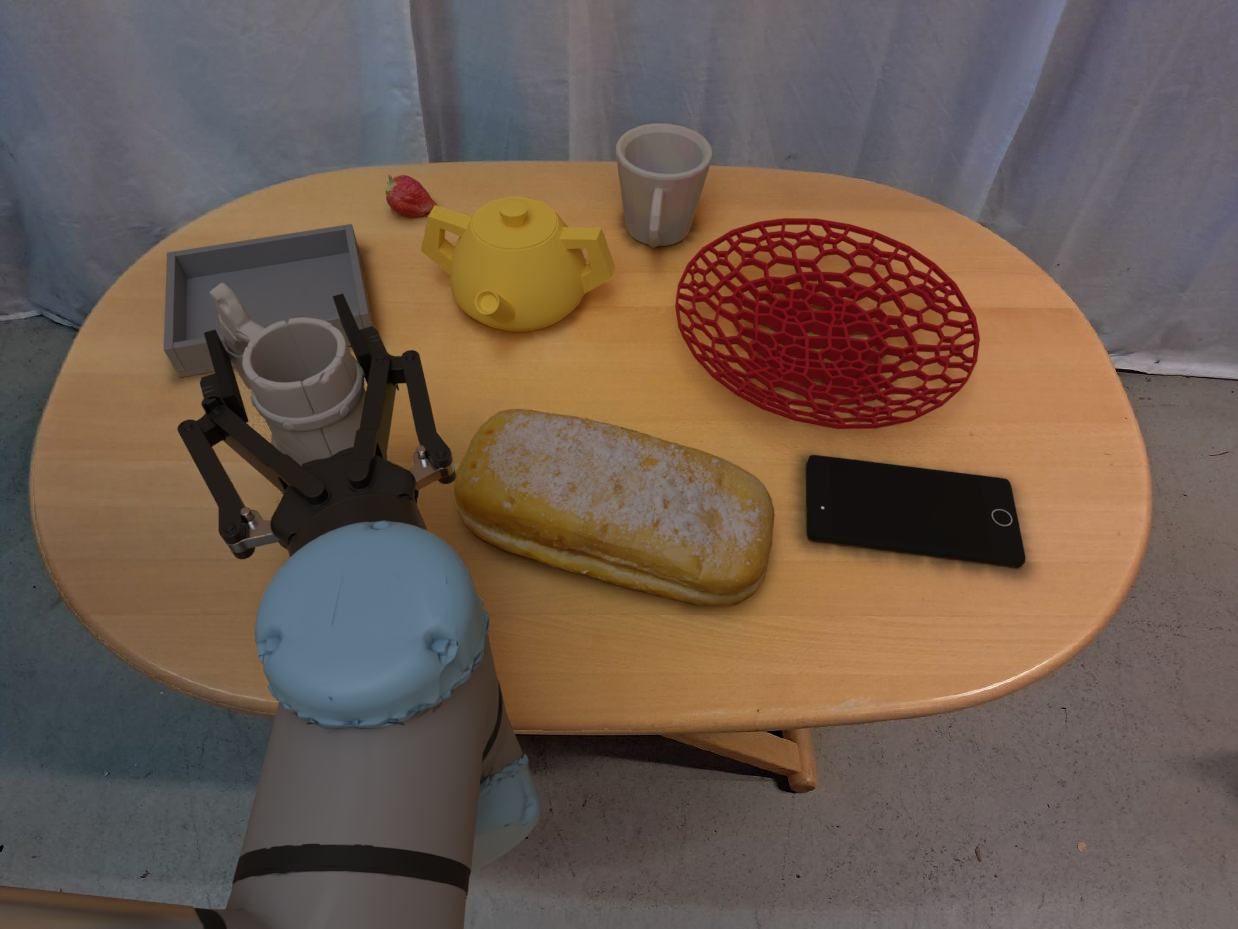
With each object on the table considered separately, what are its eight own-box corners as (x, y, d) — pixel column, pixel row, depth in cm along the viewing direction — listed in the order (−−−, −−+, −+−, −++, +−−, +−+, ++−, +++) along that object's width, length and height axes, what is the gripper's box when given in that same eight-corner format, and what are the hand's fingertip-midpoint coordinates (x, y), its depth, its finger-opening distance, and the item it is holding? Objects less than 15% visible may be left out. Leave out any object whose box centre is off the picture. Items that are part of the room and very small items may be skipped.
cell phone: (1022, 569, 67) (1027, 564, 66) (806, 541, 68) (808, 535, 67) (1006, 484, 72) (1010, 478, 71) (805, 459, 73) (808, 453, 72)
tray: (180, 378, 77) (163, 349, 74) (181, 281, 85) (166, 252, 82) (376, 341, 81) (368, 313, 78) (359, 252, 89) (351, 223, 86)
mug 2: (704, 204, 96) (715, 126, 88) (697, 285, 87) (708, 207, 79) (618, 195, 97) (621, 117, 89) (602, 276, 88) (603, 196, 80)
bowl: (991, 469, 73) (1015, 434, 69) (670, 452, 73) (675, 416, 69) (929, 262, 91) (945, 225, 87) (671, 248, 91) (675, 210, 87)
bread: (491, 434, 74) (482, 374, 68) (776, 495, 71) (794, 439, 64) (437, 555, 66) (421, 500, 60) (755, 631, 63) (773, 582, 56)
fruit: (432, 226, 92) (425, 188, 88) (382, 220, 92) (372, 182, 89) (442, 204, 95) (436, 166, 91) (393, 199, 95) (384, 161, 91)
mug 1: (333, 508, 55) (278, 391, 46) (218, 432, 59) (145, 308, 49) (410, 437, 59) (374, 315, 49) (297, 370, 63) (244, 244, 53)
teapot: (396, 355, 80) (372, 266, 71) (449, 241, 91) (434, 152, 82) (594, 382, 78) (595, 295, 69) (623, 263, 89) (627, 175, 80)
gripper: (205, 692, 44) (146, 409, 56) (550, 550, 50) (431, 323, 62) (145, 633, 38) (94, 331, 50) (545, 480, 44) (415, 244, 56)
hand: (281, 327), depth 56 cm, fingers closed on mug 1, 8 cm apart
